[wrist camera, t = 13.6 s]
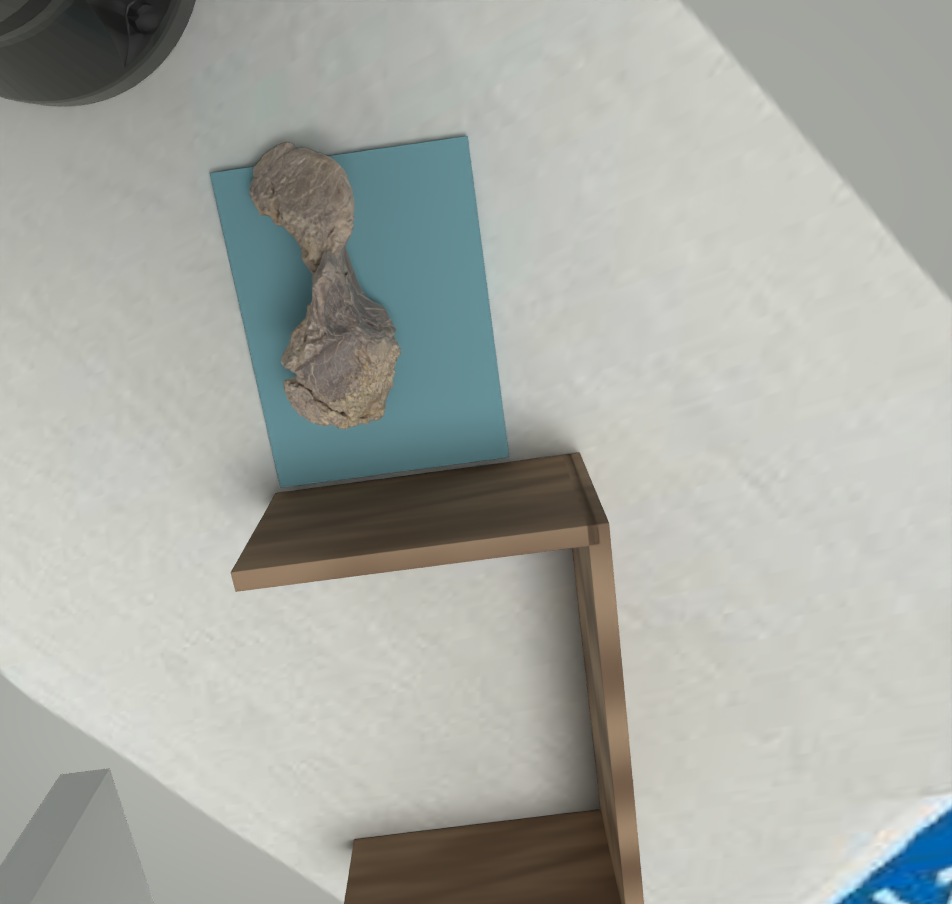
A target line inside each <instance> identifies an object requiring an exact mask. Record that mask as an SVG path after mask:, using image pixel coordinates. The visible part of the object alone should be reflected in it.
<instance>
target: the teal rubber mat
mask: <svg viewBox="0 0 952 904" xmlns="http://www.w3.org/2000/svg"><path fill="white" fill-rule="evenodd" d="M328 157H331V158H333V159H334V160H335V161H336V162H337V163H338V164H339V165H340V166H341V167H342V168H343V169H344V170H345V172H346V174H347V177H348V180H349V183H350V185H351V188H352V190H353V197H354V204H355V207H354V217H355V220H354V222H353V224H354V228H353V231H352V234H351V236H350V238H349V240H348V242H347V244H346V245H345V246H346V249H347V252H348V255H349V258H350V261H351V264H352V267H353V269H354V272H355V275H356V278H357V281H358V283H359V285H360V287H361V289H362V291H363V292H364V293H365V294H366V296H367V297H368V298H369V299H371V300H372V301H374V302H376V303H378V304H380V305H382V306H383V307H384V308H385V309H386V311H387V313H388V316H389V317H390V320H391V321H392V323H393V325H394V327H395V328H396V331H395V340H396V341H397V342H398V344H399V348H401V355H400V356H398V358H397V361H396V366H395V367H394V369H395V370H396V373H395V374H394V378H393V383H394V386H393V387H392V388H391V389H390V392H389V394H388V397H387V401H386V402H385V404H386V407H385V413H384V416H383V417H382V418H381V419H380V420H377V421H374V420H372V421H369V423H370V424H367V425H364V424H363V423H362V424H361V423H360V424H358V426H356V427H354V426H353V427H350V428H348V429H347V430H345V429H342V428H340V429H338V428H337V427H335V426H334V425H327V426H326V427H325V426H323V425H321V426H320V425H318V424H316V423H315V424H313V423H312V422H310V421H308V420H306V419H305V418H304V417H303V416H300V415H299V414H298V413H297V412H296V410H295V409H294V408H292V406H291V403H290V401H289V400H288V398H287V396H286V392H285V390H284V387H283V386H284V384H283V383H284V380H287V379H288V380H289V379H290V378H293V377H296V376H297V375H296V373H292V371H290V369H285V367H284V366H283V365H282V364H281V358H282V355H283V352H284V351H285V350H286V348H287V347H288V345H289V340H290V339H291V336H290V334H291V332H292V331H293V330H294V329H295V328H296V327H298V325H299V324H300V323H301V322H303V319H304V318H305V317H306V313H307V306H308V305H309V304H310V303H311V302H312V285H313V283H312V276H313V274H312V273H311V272H310V270H309V269H308V267H307V266H306V265H305V263H304V261H303V260H302V258H301V256H302V253H301V247H300V245H298V244H297V242H296V240H295V238H294V237H293V236H292V235H291V234H290V233H289V232H288V231H287V230H286V229H285V228H284V227H283V226H278V225H275V224H274V223H273V220H272V218H271V217H270V216H266V215H265V216H263V215H260V213H259V211H258V210H257V208H256V207H255V206H254V201H252V200H251V197H250V193H249V189H250V187H251V182H252V179H253V177H254V176H253V168H254V167H248V168H241V169H234V170H227V171H220V172H214V173H210V176H211V180H212V185H213V189H214V194H215V198H216V203H217V207H218V212H219V216H220V221H221V225H222V229H223V234H224V238H225V243H226V247H227V252H228V256H229V261H230V265H231V270H232V274H233V279H234V283H235V287H236V292H237V296H238V301H239V305H240V310H241V314H242V319H243V323H244V328H245V332H246V336H247V341H248V345H249V350H250V354H251V359H252V363H253V368H254V372H255V377H256V381H257V386H258V390H259V394H260V399H261V403H262V408H263V412H264V417H265V421H266V426H267V430H268V435H269V439H270V443H271V448H272V452H273V457H274V461H275V466H276V470H277V475H278V479H279V484H280V488H282V487H290V486H297V485H305V484H312V483H320V482H327V481H335V480H342V479H350V478H357V477H365V476H372V475H380V474H387V473H395V472H402V471H410V470H417V469H425V468H432V467H440V466H447V465H455V464H462V463H470V462H477V461H485V460H492V459H500V458H507V457H509V452H508V444H507V436H506V429H505V421H504V413H503V406H502V398H501V390H500V382H499V375H498V367H497V359H496V352H495V344H494V336H493V328H492V321H491V313H490V305H489V298H488V290H487V282H486V275H485V267H484V259H483V251H482V244H481V236H480V228H479V221H478V213H477V205H476V197H475V190H474V182H473V174H472V167H471V159H470V151H469V143H468V136H464V137H457V138H450V139H443V140H436V141H429V142H422V143H415V144H408V145H401V146H395V147H388V148H381V149H374V150H367V151H360V152H353V153H346V154H339V155H332V156H328Z"/></svg>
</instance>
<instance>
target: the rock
mask: <svg viewBox="0 0 952 904" xmlns="http://www.w3.org/2000/svg"><path fill="white" fill-rule="evenodd" d="M253 176H254V177H253V179H252V182H251V187H250V189H249V193H250V197H251V200H252V201H254V206H255V207H256V208H257V210H258V211H259V213H260V215H263V216H265V215H266V216H270V217H271V218H272V220H273V223H274V224H275V225H278V226H283V227H284V228H285V229H286V230H287V231H288V232H289V233H290V234H291V235H292V236H293V237H294V238H295V240H296V242H297V244H298V245H300V247H301V253H302V256H301V258H302V260H303V261H304V263H305V265H306V266H307V267H308V269H309V270H310V272H311V273H312V274H313V276H312V283H313V285H312V302H311V303H310V304H309V305H308V306H307V313H306V317H305V318H304V319H303V322H301V323H300V324H299V325H298V327H296V328H295V329H294V330H293V331H292V332H291V334H290V336H291V339H290V340H289V345H288V347H287V348H286V350H285V351H284V352H283V355H282V358H281V364H282V365H283V366H284V367H285V369H290V371H292V373H296V375H297V376H296V377H293V378H290V379H289V380H288V379H287V380H284V383H283V384H284V386H283V387H284V390H285V392H286V396H287V398H288V400H289V401H290V403H291V406H292V408H294V409H295V410H296V412H297V413H298V414H299V415H300V416H303V417H304V418H305V419H306V420H308V421H310V422H312V423H313V424H315V423H316V424H318V425H320V426H321V425H323V426H325V427H326V426H327V425H334V426H335V427H337V428H338V429H340V428H342V429H345V430H347V429H348V428H350V427H353V426H354V427H356V426H358V424H360V423H361V424H362V423H363V424H364V425H367V424H370V423H369V421H372V420H374V421H377V420H380V419H381V418H382V417H383V416H384V413H385V407H386V404H385V402H386V401H387V397H388V394H389V392H390V389H391V388H392V387H393V386H394V383H393V378H394V374H395V373H396V370H395V369H394V367H395V366H396V361H397V358H398V356H400V355H401V348H399V344H398V342H397V341H396V340H395V331H396V328H395V327H394V325H393V323H392V321H391V320H390V317H389V316H388V313H387V311H386V309H385V308H384V307H383V306H382V305H380V304H378V303H376V302H374V301H372V300H371V299H369V298H368V297H367V296H366V294H365V293H364V292H363V291H362V289H361V287H360V285H359V283H358V281H357V278H356V275H355V272H354V269H353V267H352V264H351V261H350V258H349V255H348V252H347V249H346V246H345V245H346V244H347V242H348V240H349V238H350V236H351V234H352V231H353V228H354V224H353V222H354V220H355V217H354V207H355V204H354V197H353V190H352V188H351V185H350V183H349V180H348V177H347V174H346V172H345V170H344V169H343V168H342V167H341V166H340V165H339V164H338V163H337V162H336V161H335V160H334V159H333V158H331V157H328V156H327V155H325V154H320V153H317V152H314V151H313V150H311V149H309V148H308V149H304V148H302V147H300V148H296V149H294V145H293V144H291V143H290V142H285V143H282V144H279V145H278V146H276V147H274V148H273V149H272V150H270V151H268V152H267V153H265V154H264V155H263V156H262V158H261V160H260V161H259V162H258V163H257V164H256V165H255V166H254V168H253Z"/></svg>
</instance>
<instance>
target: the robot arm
mask: <svg viewBox="0 0 952 904" xmlns="http://www.w3.org/2000/svg"><path fill="white" fill-rule="evenodd" d="M195 1H196V0H0V97H3V98H6V99H11V100H16V101H21V102H27V103H33V104H40V105H48V106H77V105H85V104H90V103H95V102H99V101H102V100H106V99H109V98H111V97H114V96H116V95H118V94H121V93H123V92H125V91H127V90H128V89H130V88H132V87H134V86H135V85H137V84H138V83H140V82H141V81H142V80H144V79H145V78H146V77H147V76H149V75H150V74H151V73H152V72H153V71H154V70H155V69H156V68H157V67H158V66H159V65H160V64H161V63H162V62H163V61H164V60H165V59H166V57H167V56H168V55H169V54H170V52H171V51H172V49H173V48H174V47H175V45H176V44H177V42H178V40H179V39H180V37H181V35H182V33H183V31H184V29H185V27H186V25H187V23H188V21H189V18H190V16H191V13H192V10H193V7H194V4H195ZM0 904H154V901H153V898H152V895H151V892H150V889H149V886H148V883H147V880H146V877H145V874H144V871H143V868H142V865H141V862H140V859H139V856H138V853H137V850H136V847H135V844H134V841H133V838H132V835H131V832H130V829H129V826H128V823H127V820H126V817H125V814H124V811H123V808H122V805H121V802H120V799H119V796H118V793H117V790H116V787H115V783H114V780H113V778H112V775H111V771H110V769H102V770H93V771H85V772H77V773H69V774H61V775H60V776H59V778H58V779H57V781H56V782H55V784H54V785H53V787H52V788H51V790H50V791H49V793H48V794H47V796H46V797H45V799H44V800H43V802H42V804H41V805H40V806H39V808H38V809H37V811H36V812H35V814H34V815H33V817H32V818H31V820H30V821H29V823H28V824H27V826H26V828H25V829H24V831H23V832H22V834H21V835H20V837H19V838H18V840H17V841H16V843H15V845H14V846H13V847H12V849H11V850H10V852H9V853H8V855H7V856H6V858H5V860H4V861H3V862H2V864H1V865H0Z"/></svg>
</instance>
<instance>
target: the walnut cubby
mask: <svg viewBox="0 0 952 904" xmlns="http://www.w3.org/2000/svg"><path fill="white" fill-rule="evenodd" d="M568 548H572V551H573V560H574V569H575V578H576V588H577V597H578V606H579V615H580V625H581V634H582V643H583V652H584V662H585V671H586V680H587V689H588V698H589V708H590V717H591V726H592V735H593V745H594V754H595V763H596V772H597V782H598V791H599V800H600V809H601V810H592V811H584V812H576V813H568V814H560V815H551V816H543V817H535V818H527V819H518V820H510V821H502V822H494V823H486V824H477V825H469V826H461V827H453V828H445V829H436V830H428V831H420V832H412V833H403V834H395V835H387V836H379V837H371V838H362V839H354V844H353V850H352V857H351V863H350V869H349V876H348V882H347V888H346V895H345V901H344V904H644V898H643V887H642V876H641V866H640V855H639V844H638V833H637V822H636V811H635V800H634V789H633V779H632V768H631V757H630V746H629V735H628V724H627V713H626V703H625V692H624V681H623V670H622V659H621V648H620V637H619V626H618V616H617V605H616V594H615V583H614V572H613V561H612V550H611V539H610V529H609V522H608V519H607V517H606V515H605V512H604V510H603V507H602V505H601V503H600V500H599V498H598V495H597V493H596V491H595V488H594V486H593V484H592V481H591V479H590V476H589V474H588V472H587V469H586V467H585V464H584V462H583V460H582V457H581V455H580V453H574V454H567V455H559V456H552V457H544V458H537V459H529V460H522V461H514V462H507V463H499V464H492V465H484V466H477V467H469V468H461V469H454V470H446V471H439V472H431V473H424V474H416V475H409V476H401V477H394V478H386V479H379V480H371V481H364V482H356V483H349V484H341V485H334V486H326V487H319V488H311V489H304V490H296V491H289V492H281V493H276V494H275V495H274V497H273V499H272V501H271V502H270V504H269V506H268V508H267V510H266V511H265V513H264V515H263V517H262V518H261V520H260V522H259V524H258V525H257V527H256V529H255V531H254V532H253V534H252V536H251V538H250V539H249V541H248V543H247V545H246V546H245V548H244V550H243V552H242V553H241V555H240V557H239V559H238V561H237V562H236V564H235V566H234V568H233V569H232V571H231V576H232V580H233V584H234V587H235V591H236V592H237V591H245V590H253V589H260V588H268V587H276V586H284V585H291V584H299V583H307V582H314V581H322V580H330V579H337V578H345V577H353V576H360V575H368V574H376V573H383V572H391V571H399V570H406V569H414V568H422V567H430V566H437V565H445V564H453V563H460V562H468V561H476V560H483V559H491V558H499V557H506V556H514V555H522V554H529V553H537V552H545V551H552V550H560V549H568Z"/></svg>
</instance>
